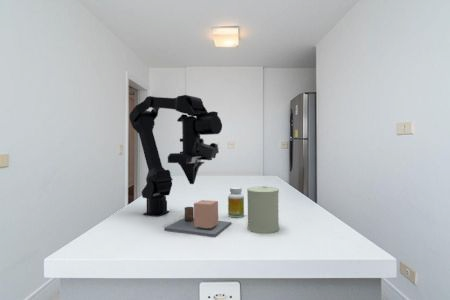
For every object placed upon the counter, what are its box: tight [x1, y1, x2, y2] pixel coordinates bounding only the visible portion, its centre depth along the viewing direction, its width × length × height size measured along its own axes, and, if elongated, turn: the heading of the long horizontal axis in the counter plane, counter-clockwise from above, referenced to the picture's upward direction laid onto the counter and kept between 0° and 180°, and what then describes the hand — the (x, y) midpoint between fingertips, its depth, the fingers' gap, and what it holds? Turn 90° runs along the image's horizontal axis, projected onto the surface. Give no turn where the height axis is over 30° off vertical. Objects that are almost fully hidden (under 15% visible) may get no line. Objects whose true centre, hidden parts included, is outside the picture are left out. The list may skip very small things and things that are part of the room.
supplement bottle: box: [227, 186, 245, 219], centre depth 90 cm, size 5×5×10 cm
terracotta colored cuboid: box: [193, 199, 219, 228], centre depth 76 cm, size 5×5×7 cm
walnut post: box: [184, 206, 194, 222], centre depth 83 cm, size 3×3×4 cm
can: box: [246, 186, 280, 234], centre depth 77 cm, size 9×9×12 cm
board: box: [163, 217, 232, 238], centre depth 78 cm, size 16×12×1 cm
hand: (191, 184), depth 84 cm, fingers closed
